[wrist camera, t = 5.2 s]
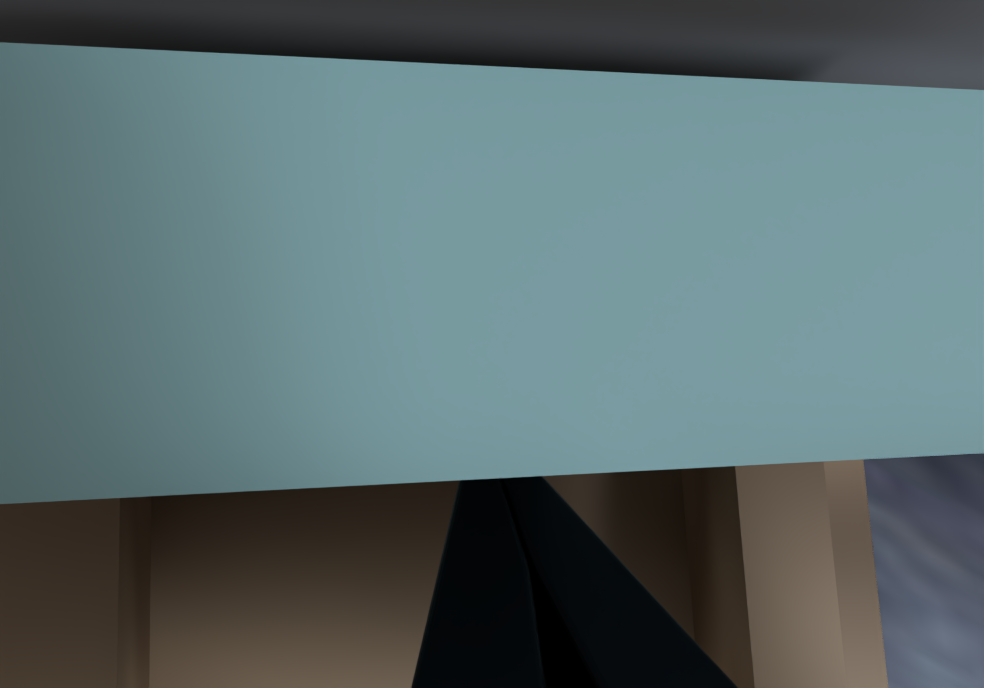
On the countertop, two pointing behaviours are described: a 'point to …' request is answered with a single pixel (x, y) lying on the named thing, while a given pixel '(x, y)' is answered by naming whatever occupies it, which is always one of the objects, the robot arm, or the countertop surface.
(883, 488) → the countertop surface
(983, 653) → the countertop surface
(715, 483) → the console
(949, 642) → the countertop surface
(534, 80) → the paddle button
